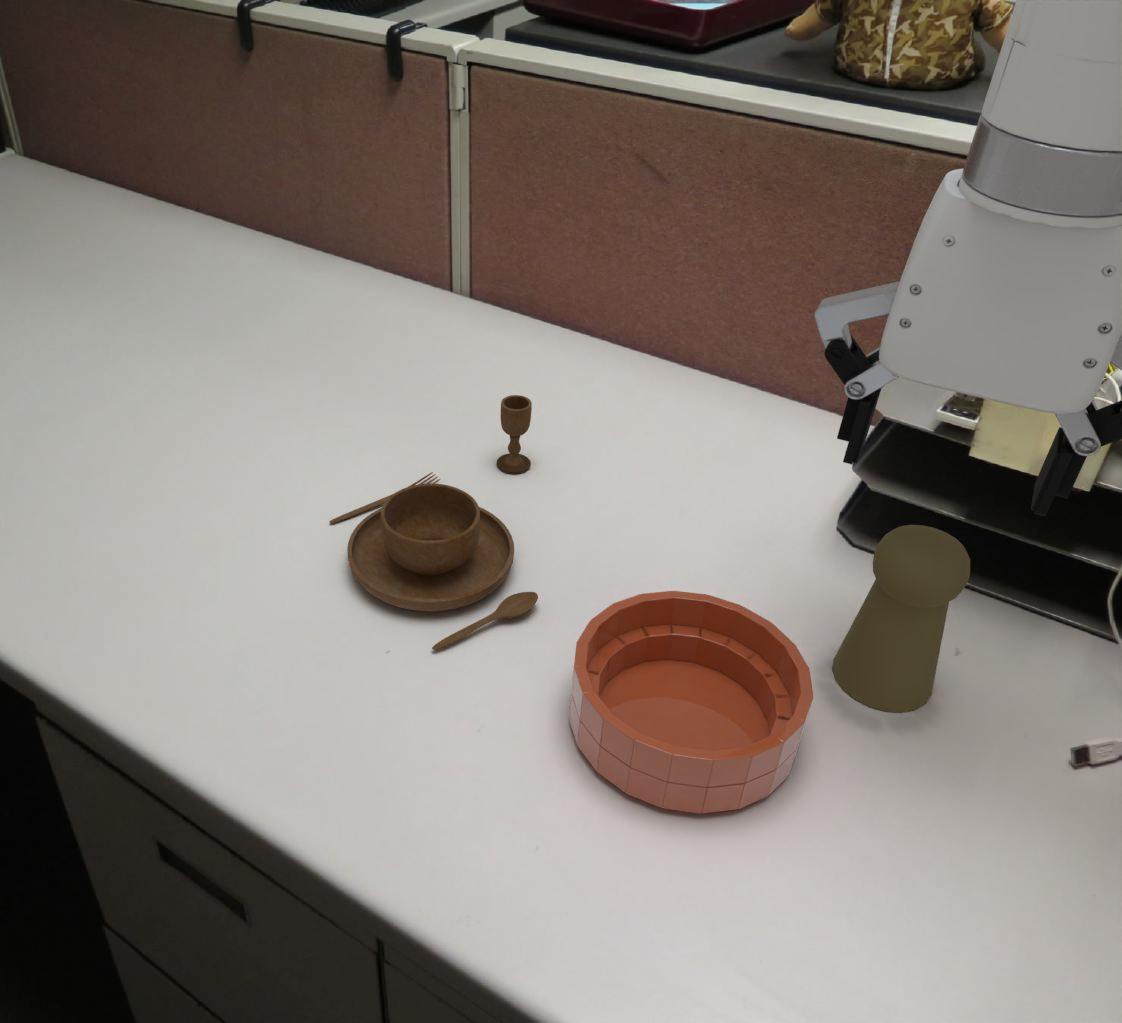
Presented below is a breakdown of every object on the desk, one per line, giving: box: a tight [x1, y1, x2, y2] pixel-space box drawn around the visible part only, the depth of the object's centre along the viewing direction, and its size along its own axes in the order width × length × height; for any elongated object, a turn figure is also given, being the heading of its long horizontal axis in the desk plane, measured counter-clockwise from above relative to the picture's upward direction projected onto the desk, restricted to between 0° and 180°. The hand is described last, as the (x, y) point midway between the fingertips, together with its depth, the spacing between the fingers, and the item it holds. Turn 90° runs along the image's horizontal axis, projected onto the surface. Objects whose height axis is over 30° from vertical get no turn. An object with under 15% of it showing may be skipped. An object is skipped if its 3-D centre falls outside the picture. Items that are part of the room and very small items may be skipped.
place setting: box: [328, 394, 539, 651], centre depth 76 cm, size 18×20×6 cm
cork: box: [831, 524, 971, 713], centre depth 63 cm, size 6×6×11 cm
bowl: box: [568, 590, 814, 814], centre depth 62 cm, size 13×13×5 cm
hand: (943, 475), depth 58 cm, fingers open, 9 cm apart
